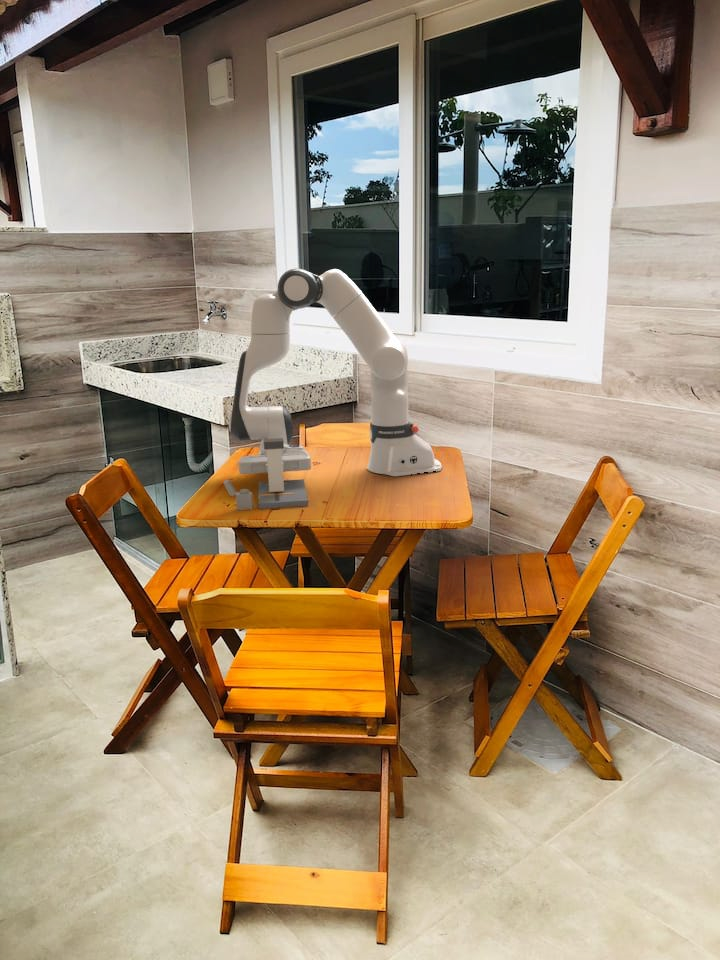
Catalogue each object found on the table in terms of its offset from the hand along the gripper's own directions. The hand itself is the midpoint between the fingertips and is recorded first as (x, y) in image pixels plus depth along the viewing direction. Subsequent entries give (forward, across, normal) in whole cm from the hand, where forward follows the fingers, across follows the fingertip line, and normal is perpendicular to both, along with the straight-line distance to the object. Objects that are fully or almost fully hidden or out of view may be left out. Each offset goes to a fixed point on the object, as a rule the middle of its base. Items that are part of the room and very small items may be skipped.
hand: (275, 470), depth 215 cm
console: (+1, +2, +7) cm, 7 cm away
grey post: (+2, 0, +5) cm, 5 cm away
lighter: (+10, -10, +7) cm, 16 cm away
